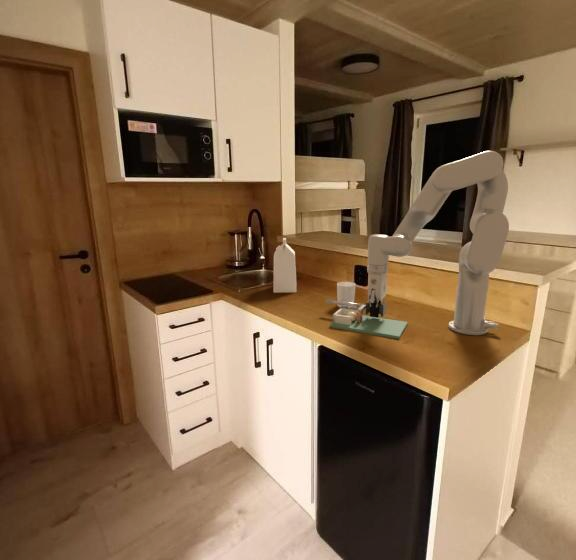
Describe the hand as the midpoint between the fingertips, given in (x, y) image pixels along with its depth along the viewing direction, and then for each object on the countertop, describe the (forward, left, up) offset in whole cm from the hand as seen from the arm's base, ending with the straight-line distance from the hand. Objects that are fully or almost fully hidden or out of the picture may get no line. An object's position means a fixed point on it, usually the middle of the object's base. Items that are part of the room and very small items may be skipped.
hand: (375, 314), depth 137 cm
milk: (+53, -26, -3) cm, 59 cm away
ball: (+7, +6, 0) cm, 10 cm away
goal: (+10, +6, -3) cm, 12 cm away
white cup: (+16, -13, -3) cm, 21 cm away
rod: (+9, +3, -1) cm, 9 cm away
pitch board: (+1, +6, -3) cm, 6 cm away
